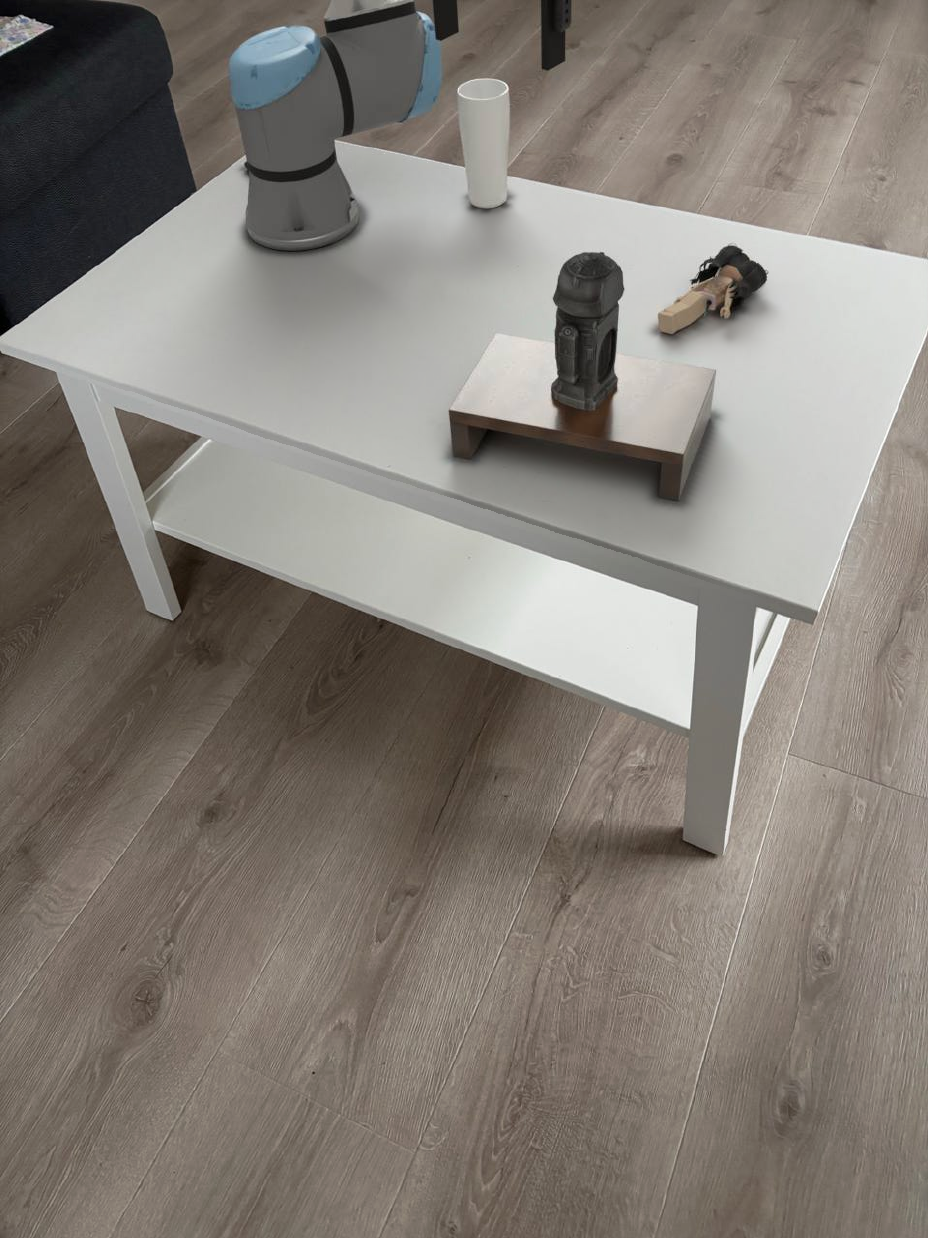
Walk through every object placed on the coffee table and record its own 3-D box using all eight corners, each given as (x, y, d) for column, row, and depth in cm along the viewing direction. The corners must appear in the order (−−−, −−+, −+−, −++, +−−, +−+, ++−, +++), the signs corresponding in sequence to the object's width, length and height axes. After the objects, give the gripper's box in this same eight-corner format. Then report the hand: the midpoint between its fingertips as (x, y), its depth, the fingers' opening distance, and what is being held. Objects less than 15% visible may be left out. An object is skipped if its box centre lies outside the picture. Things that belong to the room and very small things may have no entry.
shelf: (452, 455, 114) (448, 409, 109) (498, 378, 122) (495, 332, 118) (678, 501, 107) (683, 454, 103) (710, 416, 115) (716, 369, 111)
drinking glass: (508, 213, 147) (504, 100, 136) (459, 211, 148) (451, 99, 137) (516, 189, 151) (513, 77, 140) (468, 187, 152) (462, 76, 141)
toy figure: (704, 351, 124) (774, 287, 130) (702, 302, 119) (775, 238, 126) (652, 336, 128) (722, 275, 134) (648, 288, 123) (721, 227, 130)
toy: (578, 359, 114) (581, 225, 102) (628, 375, 111) (637, 239, 100) (537, 403, 109) (535, 268, 98) (589, 420, 107) (593, 284, 96)
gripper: (352, -222, 95) (381, 36, 111) (581, -191, 83) (577, 92, 99) (411, -241, 99) (430, 12, 114) (638, -214, 87) (625, 64, 103)
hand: (498, 50), depth 107 cm, fingers open, 13 cm apart
